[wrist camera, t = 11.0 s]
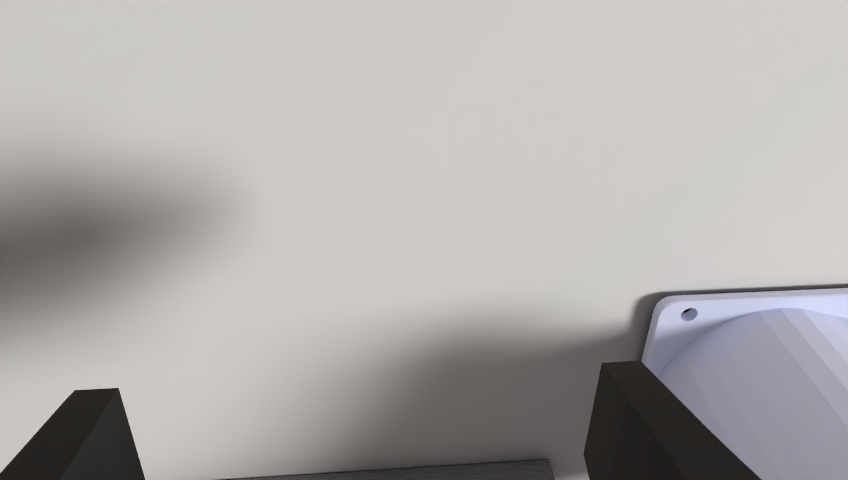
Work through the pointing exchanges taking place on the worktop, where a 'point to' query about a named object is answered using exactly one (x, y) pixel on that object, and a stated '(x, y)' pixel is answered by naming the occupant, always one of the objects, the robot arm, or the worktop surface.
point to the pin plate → (442, 473)
